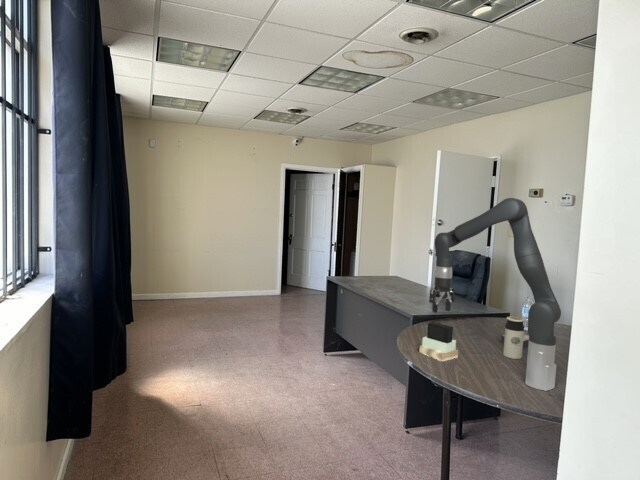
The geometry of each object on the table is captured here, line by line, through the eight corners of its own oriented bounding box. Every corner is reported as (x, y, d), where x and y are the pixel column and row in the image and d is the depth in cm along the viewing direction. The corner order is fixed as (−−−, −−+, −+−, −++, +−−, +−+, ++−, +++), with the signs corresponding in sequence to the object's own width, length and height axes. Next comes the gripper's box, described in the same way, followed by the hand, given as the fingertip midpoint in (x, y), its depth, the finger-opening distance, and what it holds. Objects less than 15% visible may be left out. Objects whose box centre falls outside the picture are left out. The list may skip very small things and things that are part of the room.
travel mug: (503, 352, 201) (506, 315, 200) (522, 355, 197) (525, 318, 196) (502, 357, 194) (505, 319, 193) (521, 360, 190) (524, 321, 189)
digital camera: (453, 341, 190) (454, 326, 190) (447, 343, 186) (448, 328, 186) (433, 335, 198) (434, 321, 197) (427, 337, 194) (428, 323, 193)
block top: (455, 349, 192) (456, 340, 192) (445, 353, 186) (446, 344, 185) (432, 342, 200) (432, 334, 200) (422, 346, 194) (422, 337, 194)
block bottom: (457, 359, 191) (458, 350, 190) (441, 362, 185) (441, 353, 184) (435, 350, 201) (435, 342, 201) (419, 353, 195) (419, 345, 195)
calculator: (536, 336, 218) (522, 340, 209) (535, 345, 218) (521, 348, 209) (515, 331, 227) (501, 334, 217) (514, 339, 227) (500, 342, 218)
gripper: (439, 278, 184) (437, 314, 185) (460, 276, 191) (458, 311, 192) (426, 275, 190) (424, 311, 191) (447, 274, 198) (445, 308, 199)
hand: (441, 311), depth 192 cm, fingers open, 8 cm apart
